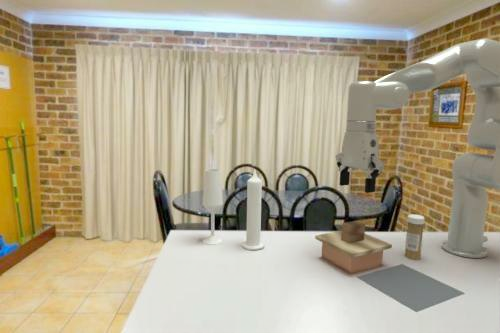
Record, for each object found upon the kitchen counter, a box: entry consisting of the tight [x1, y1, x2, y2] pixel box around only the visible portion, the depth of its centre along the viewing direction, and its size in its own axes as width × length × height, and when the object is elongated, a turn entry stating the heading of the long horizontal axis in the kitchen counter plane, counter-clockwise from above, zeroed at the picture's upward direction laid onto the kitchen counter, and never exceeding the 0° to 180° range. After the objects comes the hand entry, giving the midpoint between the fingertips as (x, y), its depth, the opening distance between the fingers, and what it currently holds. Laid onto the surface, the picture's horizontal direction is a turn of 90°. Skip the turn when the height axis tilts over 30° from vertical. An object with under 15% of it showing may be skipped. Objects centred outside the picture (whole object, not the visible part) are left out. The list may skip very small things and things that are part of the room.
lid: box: [314, 220, 393, 258], centre depth 100 cm, size 15×15×6 cm
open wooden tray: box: [320, 242, 384, 274], centre depth 101 cm, size 12×12×6 cm
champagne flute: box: [202, 168, 224, 246], centre depth 114 cm, size 7×7×24 cm
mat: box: [356, 263, 466, 313], centre depth 88 cm, size 18×18×1 cm
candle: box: [241, 169, 265, 252], centre depth 110 cm, size 7×7×25 cm
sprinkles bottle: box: [403, 213, 426, 261], centre depth 104 cm, size 5×5×14 cm
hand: (356, 188), depth 98 cm, fingers open, 9 cm apart
